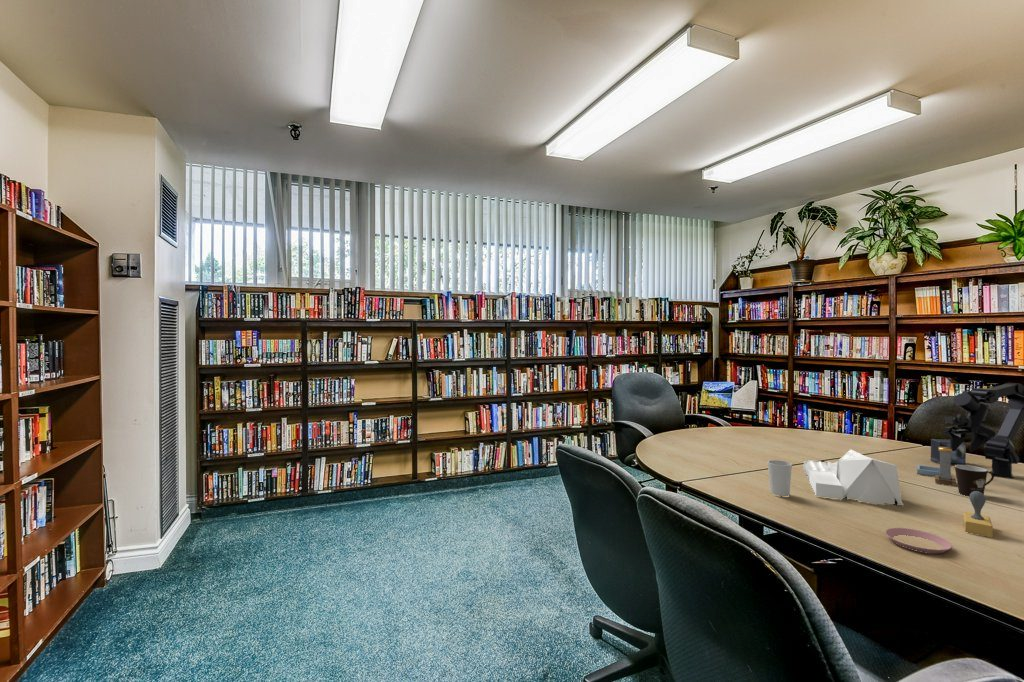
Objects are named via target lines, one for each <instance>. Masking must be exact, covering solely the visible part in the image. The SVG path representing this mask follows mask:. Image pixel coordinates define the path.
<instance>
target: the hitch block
mask: <svg viewBox="0 0 1024 682" xmlns="http://www.w3.org/2000/svg"><path fill="white" fill-rule="evenodd" d="M934 481H935V483H937V484H936V485H942V484H944V485H943V486H948V485H951V487H955V486H956V487H957V477H953V476H951V480H946V479H940V476H938V475H935V477H934Z"/></svg>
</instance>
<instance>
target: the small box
mask: <svg viewBox="0 0 1024 682" xmlns="http://www.w3.org/2000/svg"><path fill="white" fill-rule="evenodd" d="M938 447H949V448H951V445H950V439H946V438H945V439H942V438H941V439H939V438H937V439H935V438H931V439H930V461H931V462H933V463H935V464H938V465H940V451H939V450H938ZM966 447H967V443H966V442H965V441H963V443H962V444H961V445H960V446H959V447H958V448H957V449H956V450H955V451H952V452H951V464H952V465H953V466H955V465H957V464H958V465H966V461H967V460H966V455H967V454H966V453H967V452H966V451H967V448H966ZM954 464H955V465H954ZM952 465H951V466H952Z"/></svg>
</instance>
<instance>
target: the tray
mask: <svg viewBox="0 0 1024 682" xmlns="http://www.w3.org/2000/svg"><path fill="white" fill-rule="evenodd" d="M916 467H917V468H916V469H917V470H916V471H917V472H916V475H918V474H922V475H921V476H925V475H928V476H927V477H932V476H935V475H938V476H940V467H938V466H931V465H930V466H929V465H921V464H917V465H916Z"/></svg>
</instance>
